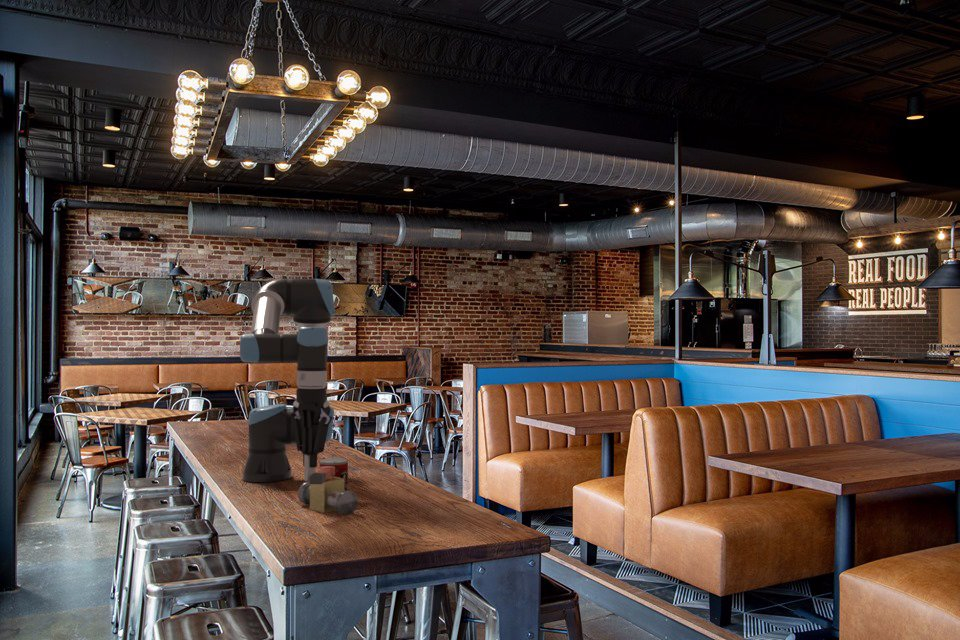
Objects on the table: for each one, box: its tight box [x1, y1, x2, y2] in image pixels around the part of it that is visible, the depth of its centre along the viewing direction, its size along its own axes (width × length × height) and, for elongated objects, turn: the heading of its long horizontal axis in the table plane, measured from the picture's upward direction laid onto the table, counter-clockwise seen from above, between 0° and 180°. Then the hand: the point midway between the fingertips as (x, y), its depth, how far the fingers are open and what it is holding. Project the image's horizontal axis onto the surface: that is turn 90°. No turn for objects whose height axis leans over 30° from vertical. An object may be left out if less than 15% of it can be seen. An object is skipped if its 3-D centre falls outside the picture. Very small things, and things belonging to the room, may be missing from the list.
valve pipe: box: [297, 476, 359, 516], centre depth 197 cm, size 18×6×9 cm, turn 47°
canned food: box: [319, 457, 349, 491], centre depth 208 cm, size 8×8×11 cm
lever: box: [309, 466, 335, 484], centre depth 192 cm, size 14×4×2 cm, turn 178°
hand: (309, 479), depth 189 cm, fingers closed
